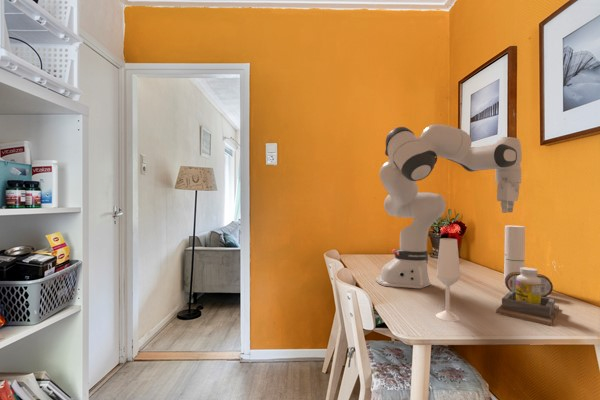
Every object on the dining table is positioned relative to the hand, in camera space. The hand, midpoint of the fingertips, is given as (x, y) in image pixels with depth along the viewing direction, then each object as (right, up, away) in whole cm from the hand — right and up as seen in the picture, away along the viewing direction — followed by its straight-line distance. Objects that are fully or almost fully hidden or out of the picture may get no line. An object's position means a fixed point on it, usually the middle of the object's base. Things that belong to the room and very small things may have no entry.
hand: (507, 212), depth 129 cm
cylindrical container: (+8, -31, +8) cm, 33 cm away
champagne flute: (-38, -31, -31) cm, 58 cm away
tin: (+4, -32, -7) cm, 32 cm away
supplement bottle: (-9, -30, -25) cm, 40 cm away
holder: (-9, -31, -24) cm, 41 cm away
